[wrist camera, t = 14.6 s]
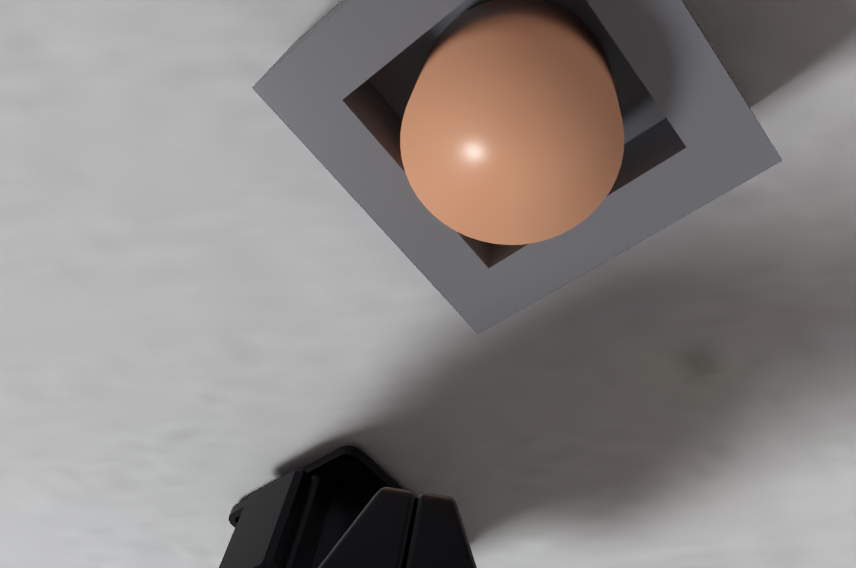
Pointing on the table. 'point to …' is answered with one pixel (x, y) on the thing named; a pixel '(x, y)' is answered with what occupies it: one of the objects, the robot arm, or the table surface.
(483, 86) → the button
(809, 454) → the table surface
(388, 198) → the button housing
